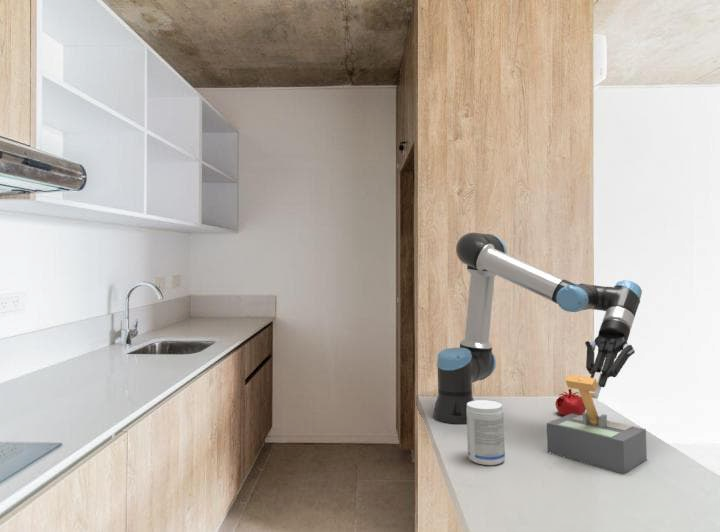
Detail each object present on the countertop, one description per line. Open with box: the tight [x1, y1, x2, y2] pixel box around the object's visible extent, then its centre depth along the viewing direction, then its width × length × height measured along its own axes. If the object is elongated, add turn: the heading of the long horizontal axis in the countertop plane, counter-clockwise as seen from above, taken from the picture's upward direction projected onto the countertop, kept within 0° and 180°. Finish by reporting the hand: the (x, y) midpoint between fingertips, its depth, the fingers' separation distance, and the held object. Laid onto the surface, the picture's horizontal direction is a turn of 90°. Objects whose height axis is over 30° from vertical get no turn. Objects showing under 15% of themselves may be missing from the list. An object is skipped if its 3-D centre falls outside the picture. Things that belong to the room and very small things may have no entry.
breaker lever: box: [565, 374, 599, 425], centre depth 127 cm, size 7×2×16 cm
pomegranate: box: [555, 388, 586, 417], centre depth 167 cm, size 10×10×9 cm
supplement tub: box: [466, 399, 506, 466], centre depth 127 cm, size 10×10×15 cm
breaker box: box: [546, 411, 648, 475], centre depth 129 cm, size 20×14×11 cm
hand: (593, 395), depth 127 cm, fingers closed
